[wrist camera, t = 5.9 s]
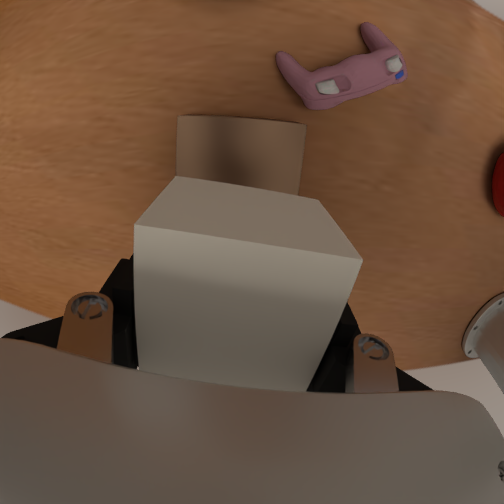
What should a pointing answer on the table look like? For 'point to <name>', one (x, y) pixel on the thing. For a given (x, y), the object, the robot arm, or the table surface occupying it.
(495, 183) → the pomegranate
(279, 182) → the walnut block
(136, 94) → the table surface
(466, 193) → the table surface
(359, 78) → the video game controller
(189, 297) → the cream block
